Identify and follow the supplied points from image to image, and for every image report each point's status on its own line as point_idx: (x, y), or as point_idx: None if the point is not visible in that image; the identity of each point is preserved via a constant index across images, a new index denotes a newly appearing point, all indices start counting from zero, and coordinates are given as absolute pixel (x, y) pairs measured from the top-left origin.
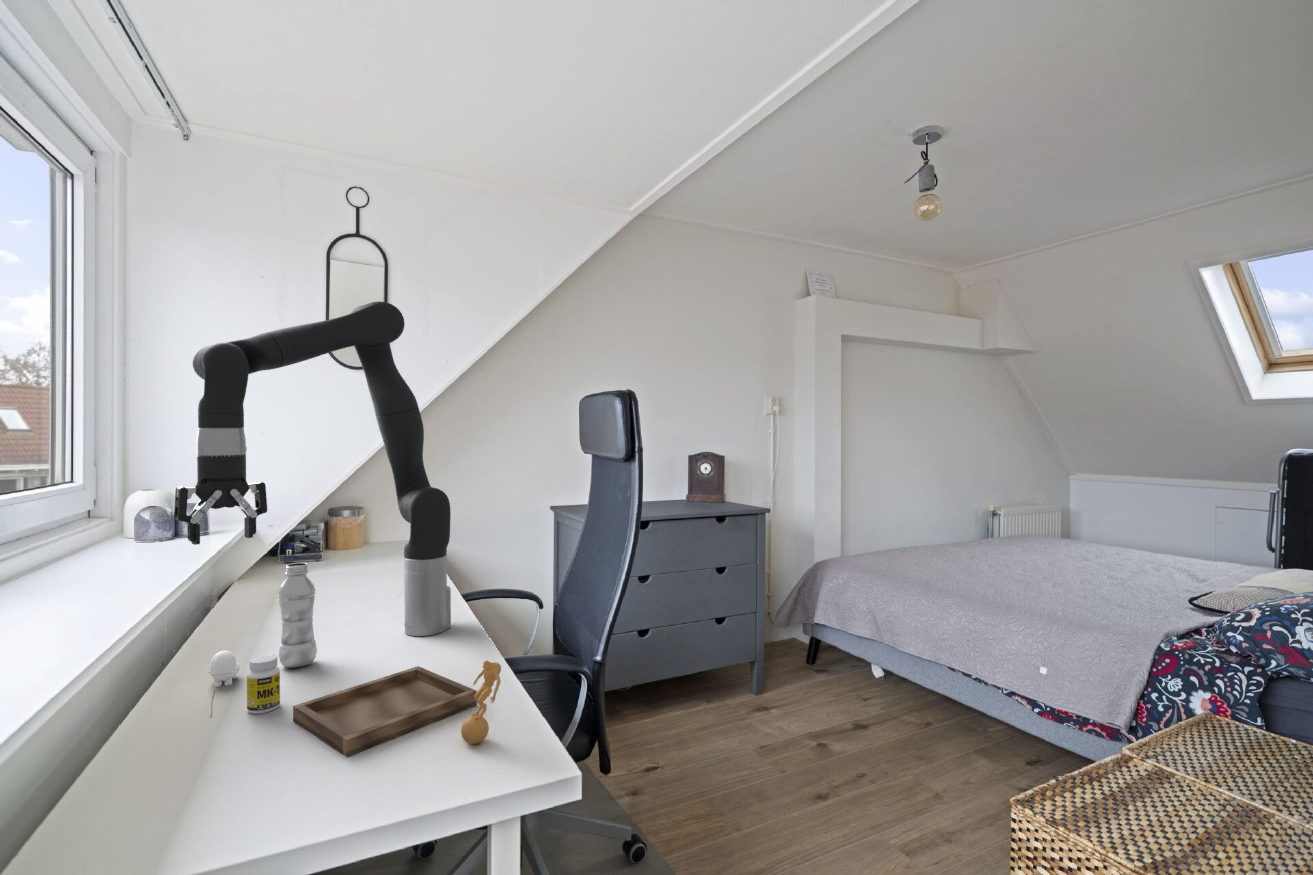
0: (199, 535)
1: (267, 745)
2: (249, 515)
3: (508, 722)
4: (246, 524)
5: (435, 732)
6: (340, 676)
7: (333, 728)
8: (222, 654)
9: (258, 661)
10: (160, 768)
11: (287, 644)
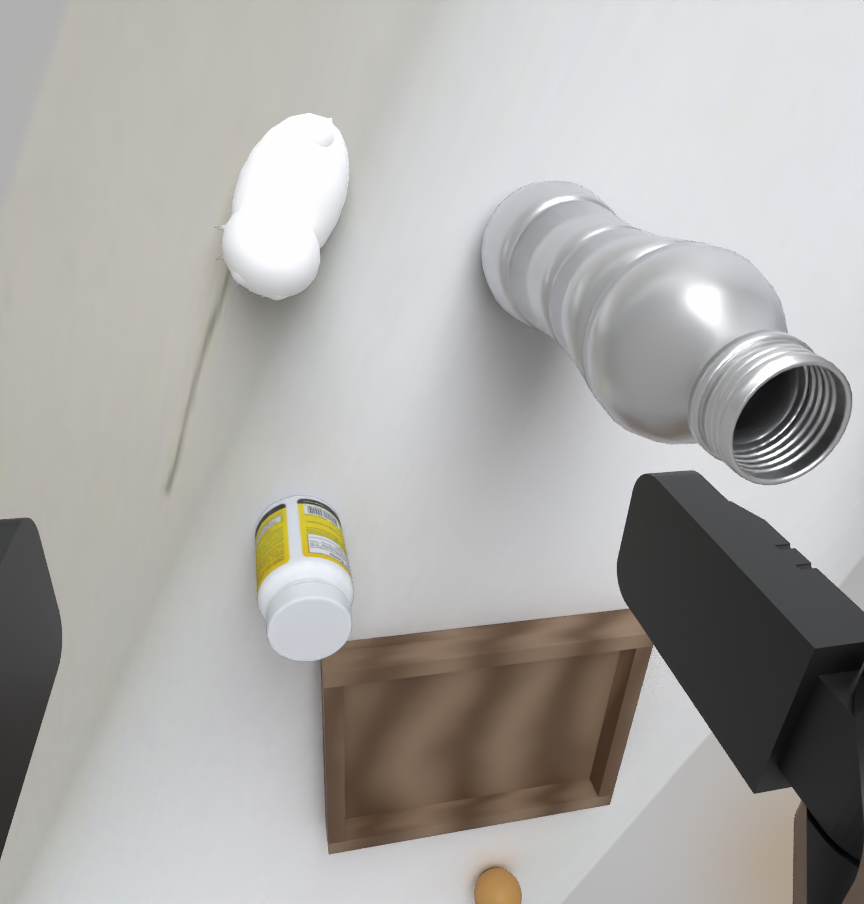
0: (28, 743)
1: (233, 715)
2: (795, 844)
3: (572, 846)
4: (719, 640)
5: None
6: (549, 453)
7: (333, 809)
8: (265, 284)
9: (288, 646)
10: None
11: (515, 301)
